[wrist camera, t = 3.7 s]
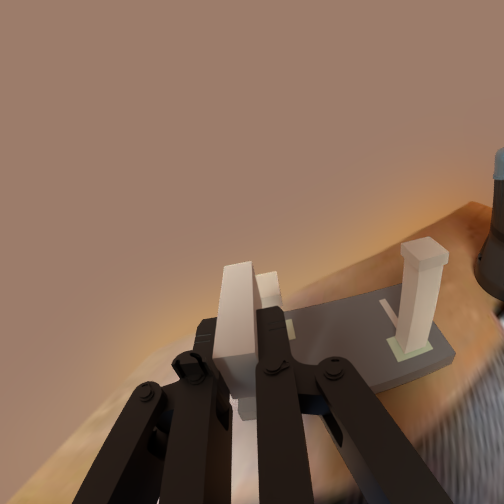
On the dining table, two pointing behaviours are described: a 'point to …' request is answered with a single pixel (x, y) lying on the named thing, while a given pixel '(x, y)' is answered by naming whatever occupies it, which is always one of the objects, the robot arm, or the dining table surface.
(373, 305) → the switch panel
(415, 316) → the lever
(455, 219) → the dining table surface
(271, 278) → the lever
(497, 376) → the dining table surface
